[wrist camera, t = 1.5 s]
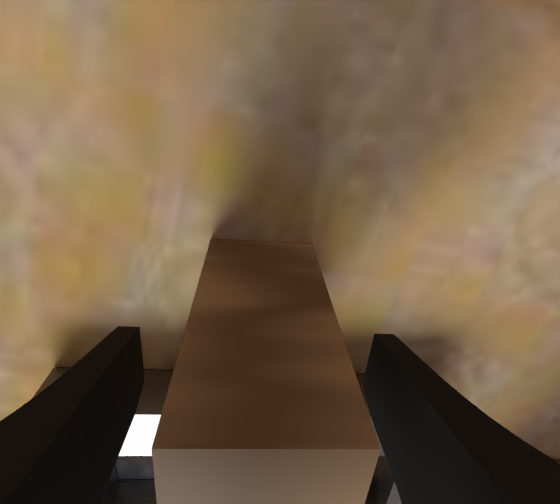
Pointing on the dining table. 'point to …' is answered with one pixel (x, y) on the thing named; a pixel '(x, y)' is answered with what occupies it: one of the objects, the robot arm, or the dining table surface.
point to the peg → (263, 389)
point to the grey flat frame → (141, 493)
